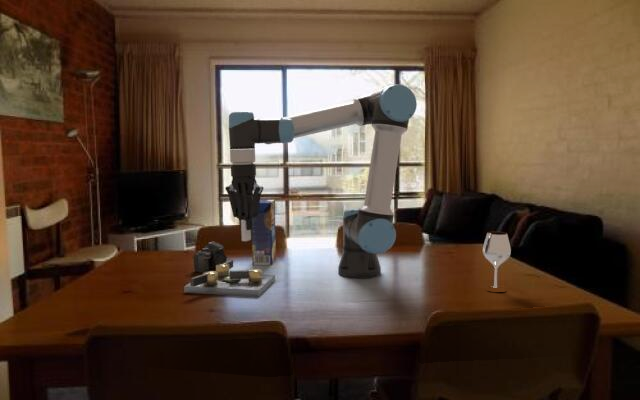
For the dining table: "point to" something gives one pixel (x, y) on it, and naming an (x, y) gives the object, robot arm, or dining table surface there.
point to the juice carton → (264, 234)
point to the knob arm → (247, 275)
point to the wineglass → (496, 250)
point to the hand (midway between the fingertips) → (246, 240)
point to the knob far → (224, 268)
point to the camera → (209, 257)
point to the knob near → (205, 279)
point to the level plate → (233, 286)
